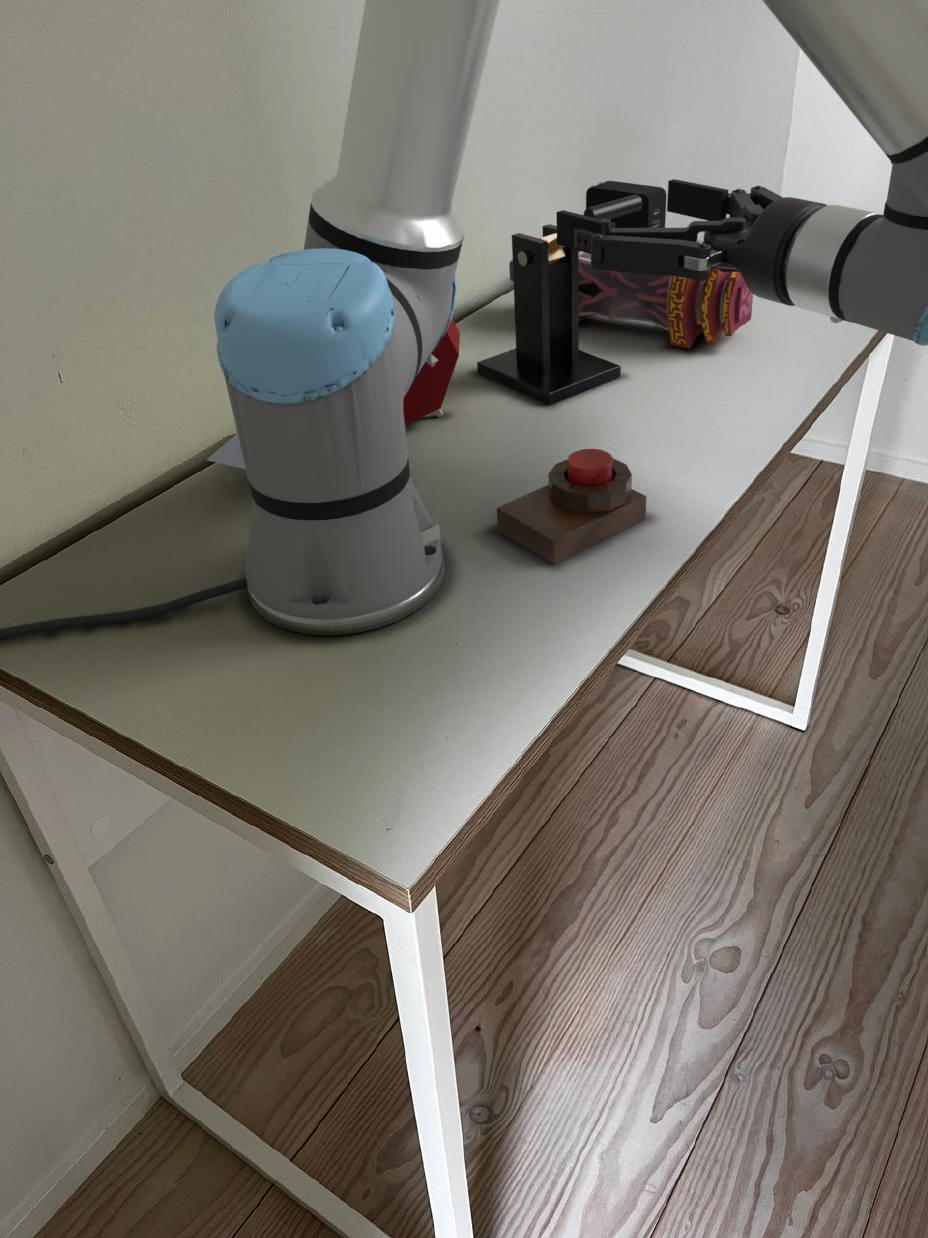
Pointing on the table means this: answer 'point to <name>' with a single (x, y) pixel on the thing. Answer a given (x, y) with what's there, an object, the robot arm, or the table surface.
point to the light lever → (598, 212)
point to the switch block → (572, 513)
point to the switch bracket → (546, 328)
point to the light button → (590, 467)
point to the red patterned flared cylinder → (666, 300)
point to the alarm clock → (433, 378)
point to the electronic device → (609, 191)
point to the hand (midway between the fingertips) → (616, 210)
